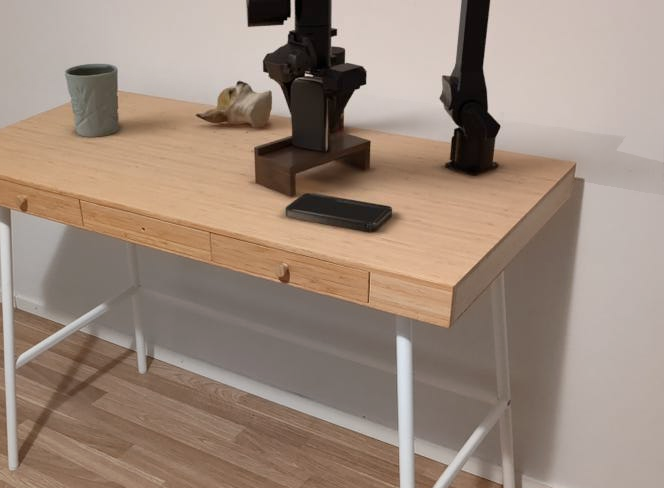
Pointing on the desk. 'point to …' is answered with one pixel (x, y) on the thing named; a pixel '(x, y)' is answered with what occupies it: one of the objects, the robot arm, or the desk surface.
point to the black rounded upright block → (309, 114)
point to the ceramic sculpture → (240, 106)
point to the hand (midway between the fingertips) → (313, 122)
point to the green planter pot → (94, 98)
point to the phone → (339, 212)
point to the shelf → (305, 159)
